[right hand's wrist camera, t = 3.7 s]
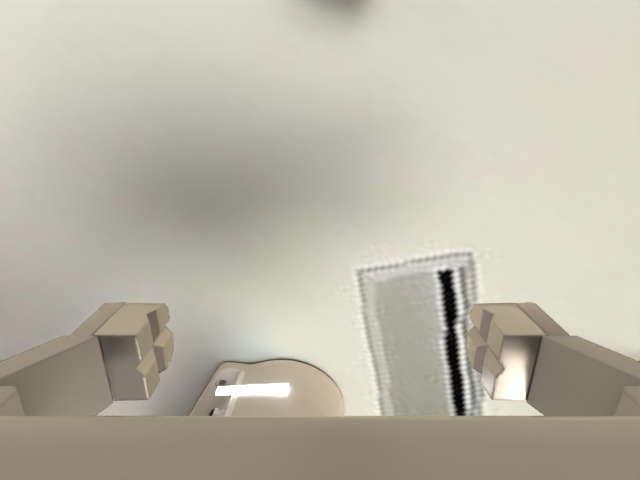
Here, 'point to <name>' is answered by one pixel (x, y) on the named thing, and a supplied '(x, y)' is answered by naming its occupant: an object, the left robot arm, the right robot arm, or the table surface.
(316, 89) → the table surface
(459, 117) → the table surface
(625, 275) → the table surface
